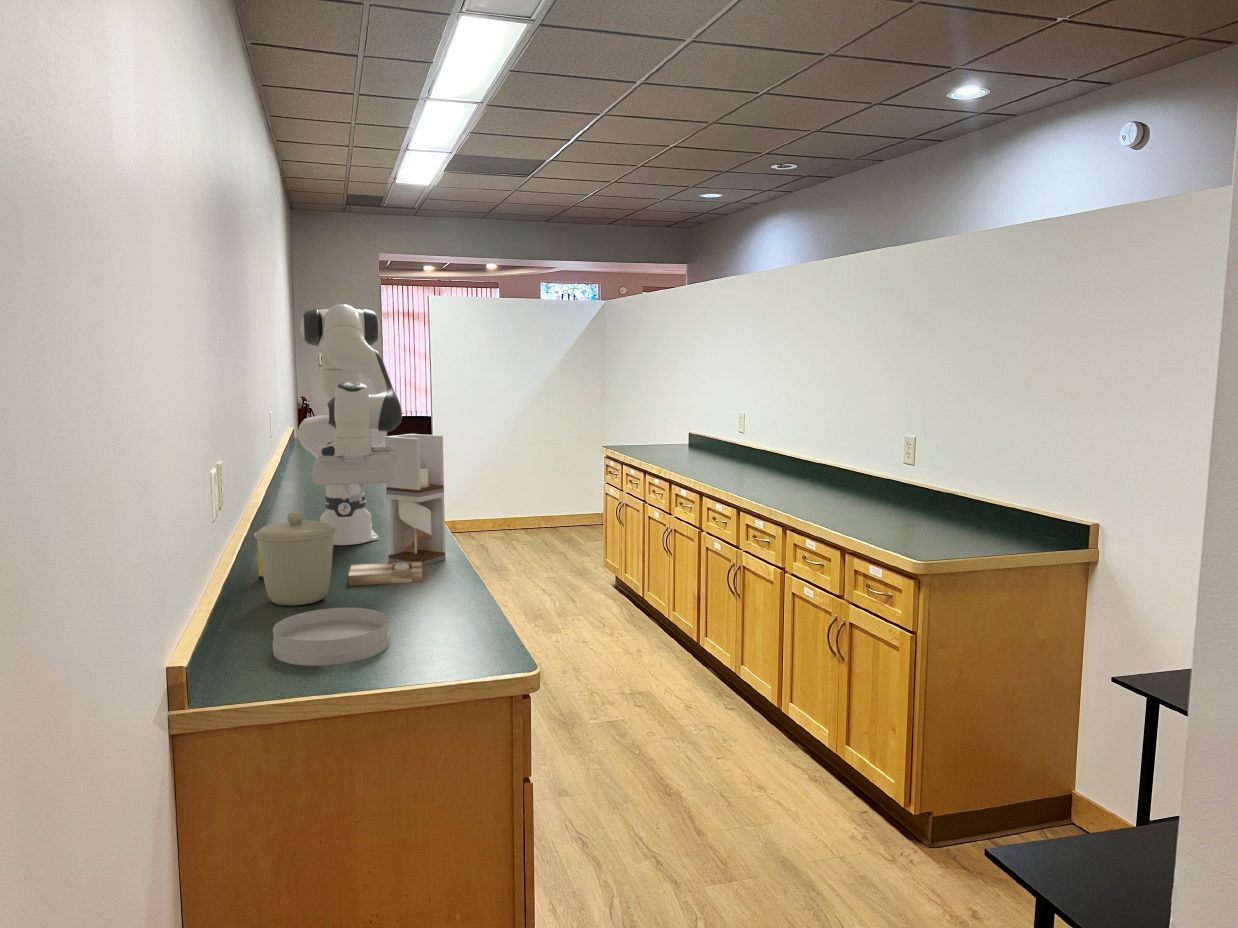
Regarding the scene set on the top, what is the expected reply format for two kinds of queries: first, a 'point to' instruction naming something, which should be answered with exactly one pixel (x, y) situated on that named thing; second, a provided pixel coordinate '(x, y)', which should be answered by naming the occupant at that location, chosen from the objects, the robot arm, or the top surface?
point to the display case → (417, 499)
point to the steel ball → (401, 566)
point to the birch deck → (384, 573)
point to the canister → (296, 559)
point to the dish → (331, 636)
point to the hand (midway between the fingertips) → (355, 501)
